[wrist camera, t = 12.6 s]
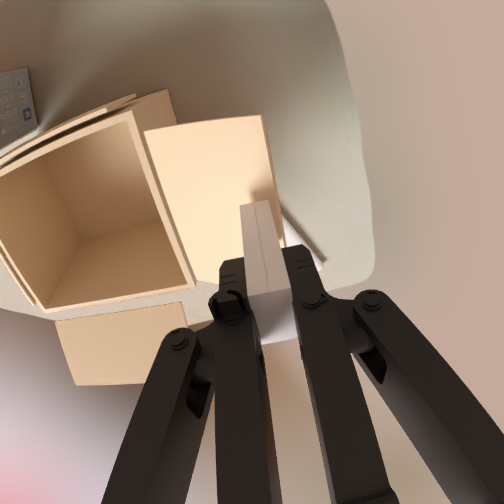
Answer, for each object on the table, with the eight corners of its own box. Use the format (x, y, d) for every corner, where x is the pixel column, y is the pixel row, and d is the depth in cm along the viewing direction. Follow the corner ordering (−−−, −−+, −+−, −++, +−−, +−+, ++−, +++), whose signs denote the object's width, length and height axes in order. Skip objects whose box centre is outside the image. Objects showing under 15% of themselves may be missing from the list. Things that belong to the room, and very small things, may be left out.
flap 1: (54, 321, 25) (56, 320, 25) (75, 385, 25) (77, 383, 25) (180, 302, 24) (181, 301, 24) (200, 377, 24) (201, 376, 25)
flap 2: (292, 298, 20) (294, 294, 20) (260, 115, 13) (262, 113, 13) (196, 279, 23) (198, 276, 23) (143, 131, 16) (146, 129, 17)
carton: (79, 244, 35) (40, 316, 25) (31, 137, 26) (-38, 184, 16) (204, 213, 34) (195, 290, 24) (165, 81, 26) (126, 99, 16)
